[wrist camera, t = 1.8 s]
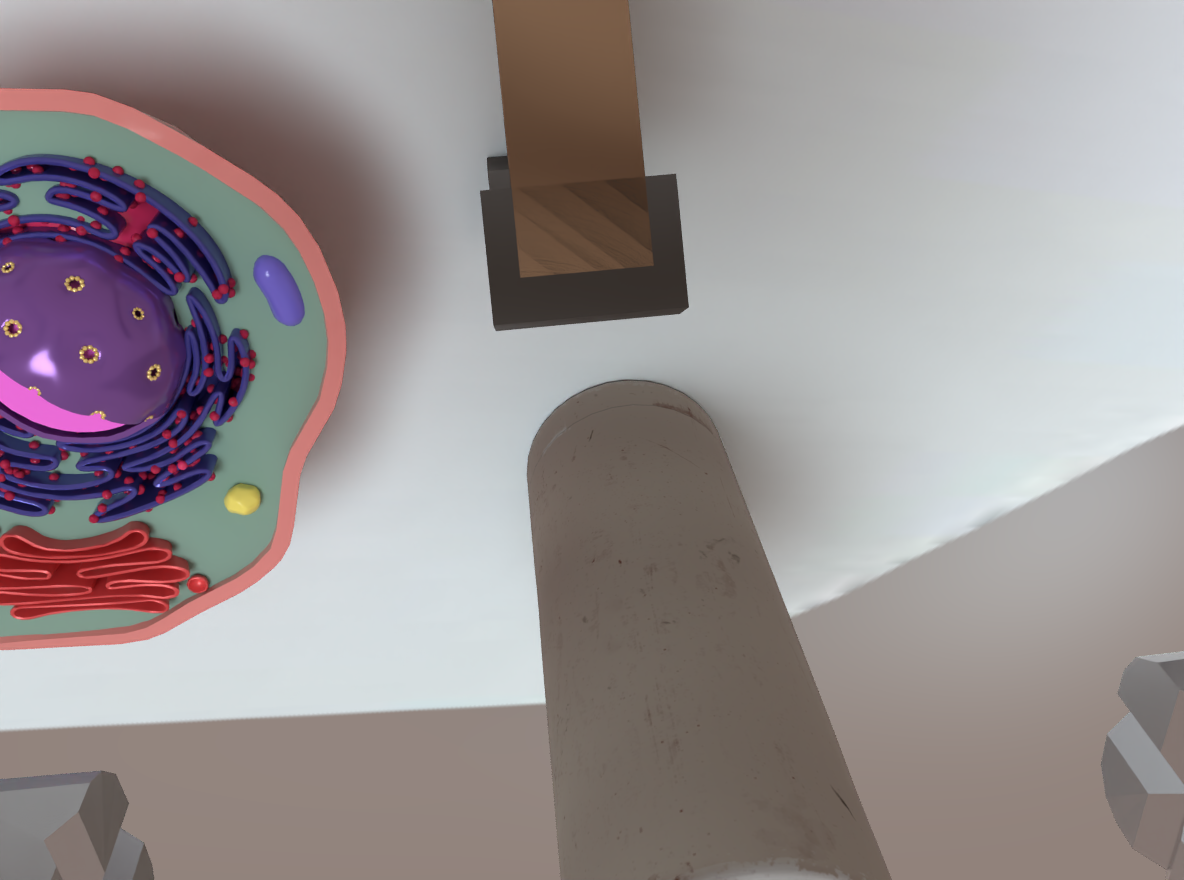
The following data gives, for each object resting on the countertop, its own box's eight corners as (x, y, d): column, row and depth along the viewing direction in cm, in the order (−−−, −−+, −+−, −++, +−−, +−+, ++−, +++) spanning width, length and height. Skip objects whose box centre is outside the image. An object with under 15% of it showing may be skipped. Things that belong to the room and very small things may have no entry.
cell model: (-266, 354, 38) (-519, 548, 28) (31, -114, 31) (-165, -73, 22) (163, 593, 45) (79, 813, 35) (476, 250, 38) (479, 404, 29)
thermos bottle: (761, 458, 44) (1108, 1247, 20) (623, 576, 46) (787, 1404, 23) (626, 340, 41) (849, 1120, 17) (485, 474, 43) (504, 1320, 19)
